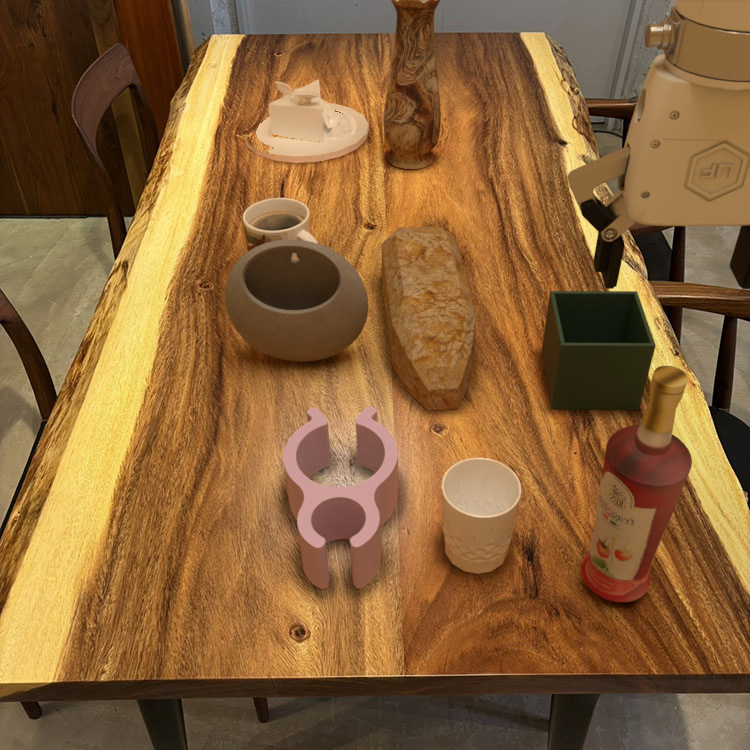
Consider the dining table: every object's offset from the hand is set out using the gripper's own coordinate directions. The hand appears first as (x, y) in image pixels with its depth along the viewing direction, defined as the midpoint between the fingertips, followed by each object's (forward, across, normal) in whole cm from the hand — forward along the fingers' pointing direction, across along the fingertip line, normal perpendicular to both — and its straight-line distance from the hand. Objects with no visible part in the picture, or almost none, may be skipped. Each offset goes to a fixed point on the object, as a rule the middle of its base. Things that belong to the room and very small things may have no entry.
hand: (673, 278), depth 62 cm
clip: (+38, -27, +8) cm, 47 cm away
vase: (+38, -19, +94) cm, 103 cm away
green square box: (+38, +4, +31) cm, 49 cm away
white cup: (+38, -12, +4) cm, 40 cm away
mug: (+38, -38, +54) cm, 76 cm away
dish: (+38, -40, +105) cm, 119 cm away
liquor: (+38, +2, 0) cm, 38 cm away
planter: (+38, -34, +35) cm, 62 cm away
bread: (+38, -17, +43) cm, 60 cm away
